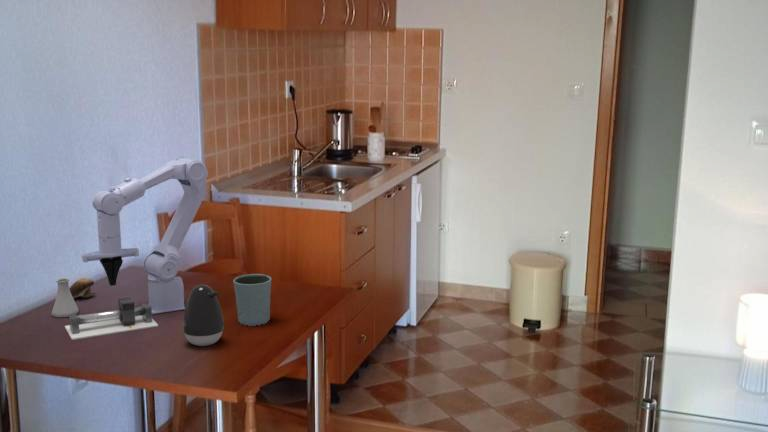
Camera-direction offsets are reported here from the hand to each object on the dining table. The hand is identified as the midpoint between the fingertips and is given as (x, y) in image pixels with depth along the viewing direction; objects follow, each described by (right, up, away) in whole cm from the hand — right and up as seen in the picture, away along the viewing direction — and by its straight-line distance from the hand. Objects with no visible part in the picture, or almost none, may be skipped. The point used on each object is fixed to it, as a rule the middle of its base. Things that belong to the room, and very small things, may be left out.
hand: (112, 284), depth 226 cm
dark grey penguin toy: (+28, -14, -15) cm, 35 cm away
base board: (+1, -11, -4) cm, 12 cm away
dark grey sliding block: (+5, -11, -2) cm, 12 cm away
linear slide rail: (+1, -11, -4) cm, 12 cm away
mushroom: (-16, -6, +21) cm, 27 cm away
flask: (-15, -9, +6) cm, 19 cm away
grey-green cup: (+38, -10, +2) cm, 39 cm away
